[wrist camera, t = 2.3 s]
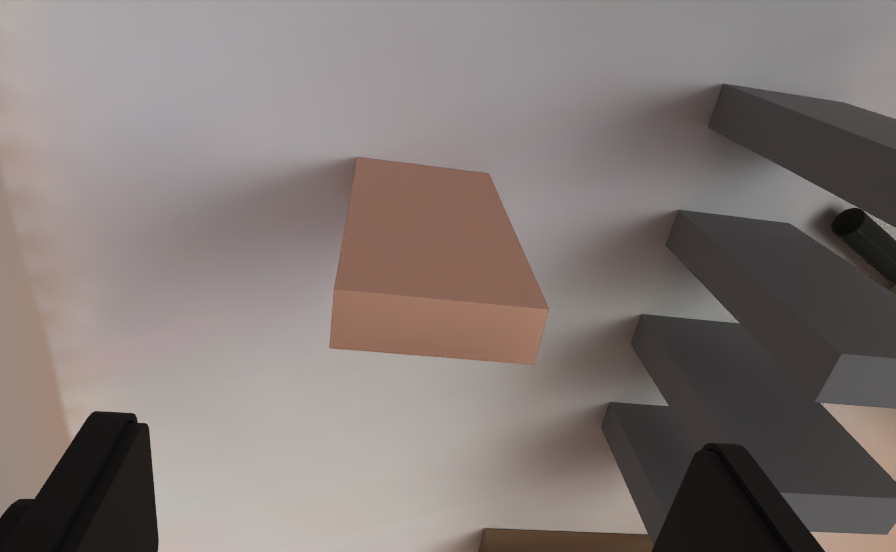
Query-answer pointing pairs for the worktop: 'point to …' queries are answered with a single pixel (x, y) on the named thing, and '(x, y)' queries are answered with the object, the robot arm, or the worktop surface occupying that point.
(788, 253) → the domino
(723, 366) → the domino
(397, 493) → the worktop surface
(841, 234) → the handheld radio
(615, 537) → the bar
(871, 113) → the domino
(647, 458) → the domino
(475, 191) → the domino
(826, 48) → the worktop surface
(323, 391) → the worktop surface
